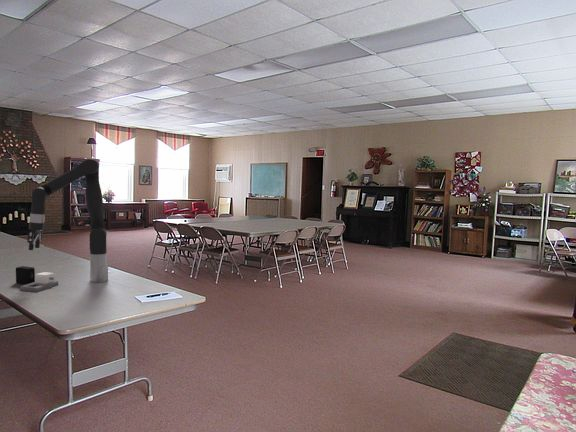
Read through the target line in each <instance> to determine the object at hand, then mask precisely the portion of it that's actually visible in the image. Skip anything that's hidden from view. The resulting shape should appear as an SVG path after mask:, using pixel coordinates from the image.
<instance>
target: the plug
mask: <svg viewBox="0 0 576 432" xmlns="http://www.w3.org/2000/svg"><path fill="white" fill-rule="evenodd" d="M54 281H55V273H54V272H47V271H46V272H45V271H42V272H40V273H35V282H36V283H42V284H47V283H51V282H54Z"/></svg>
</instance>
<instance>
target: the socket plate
mask: <svg viewBox="0 0 576 432" xmlns="http://www.w3.org/2000/svg"><path fill="white" fill-rule="evenodd" d="M58 285H59V281H58V280H54V282H51V283H47V284H42V283H36V281H35V282H33V283H30V284H26V285H24V284H22V285H21V286H19V291H24V292H25V291H27V292H36V293H37V292H40V291H45V290H47V289H49V288H53V287H55V286H58Z"/></svg>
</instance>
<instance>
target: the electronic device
mask: <svg viewBox="0 0 576 432" xmlns="http://www.w3.org/2000/svg"><path fill="white" fill-rule="evenodd" d="M35 270H36V269H35V267H32V266H26V265H23V266H17V267H15V284H19V285H26V284H30V283H33V282H36V281H35V274H36V271H35Z"/></svg>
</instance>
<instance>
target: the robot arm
mask: <svg viewBox="0 0 576 432" xmlns="http://www.w3.org/2000/svg"><path fill="white" fill-rule="evenodd" d="M99 168H100V165H99V162H98V161H97V160H96V159H94V158H92V157H91V158H90V157H87V158H85V159H83V161H81V163H79V164H78V165H77V166H75V167H73V168H71V169H70V170H68V171H67V172H64V173H62V174H60V175H58V176H57V177H56V176H55V178H52V179H51V180H49V181H47V182H46V183H45V184H42V185H40V186H38V187H35V188H34V189H33V190H32V191H31V208H30V215H29V221H28V230H31V231H30V232H28V234H27V235H28V236H27V241H26V242H27V243H28V250H29V251H33V250H34V248H35V249H39V248H40V245H41V241H43V233H44V231H43V230H44V229H45V220H46V218H45V217H46V215H45V214H46V205H45V203H46V198H47V197H49V196H51V195H52V194H54V193H56V192H59V191H60V190H62V189H64V188H65V187H67V186H69V185H71V184H72V183H74V182H75V181H77V180H78V179H80V178H83V177H84V179H85V204H86V208H87V209H86V210H87V212H88V217H89V219H90V220H89V221H90V233H89V279H90V280H89V281H90V282H92V283H104V282H107V281H109V265H108V264H107V262H108V261H107V257H108V256H107V249H108V248H107V236H108V235H107V229H106V225H105V222H104V202H103V201H104V200H103V194H102V188H101V184H100V176H99V170H100V169H99Z"/></svg>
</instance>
